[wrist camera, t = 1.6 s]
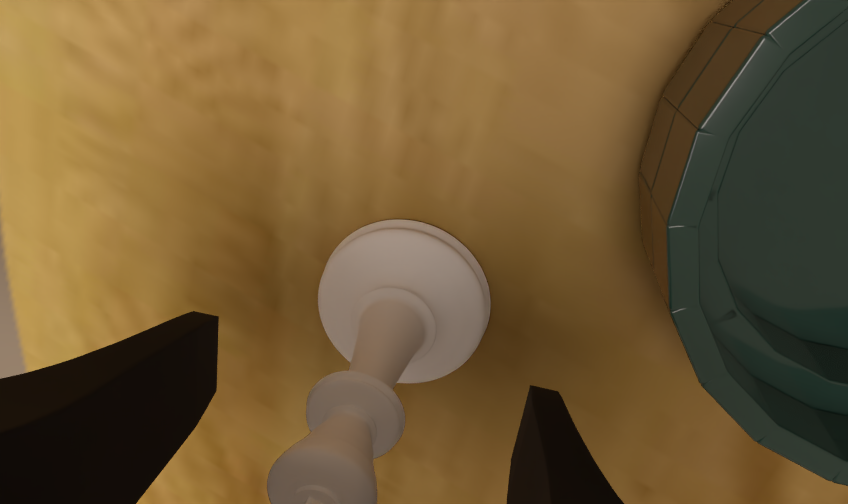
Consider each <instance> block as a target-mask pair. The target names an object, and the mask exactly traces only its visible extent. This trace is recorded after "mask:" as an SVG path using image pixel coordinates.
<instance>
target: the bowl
mask: <svg viewBox="0 0 848 504" xmlns="http://www.w3.org/2000/svg"><path fill="white" fill-rule="evenodd" d="M663 96H664V97H662V98H661V99H660V101H659V105H658V108H657V112H656V115H655V119H654V122H653V125H652V129H651V132H650V136H649V139H648V142H647V146H646V149H645V153H644V156H643V160H642V163H641V166H640V172H639V189H640V210H641V231H642V242H643V244H644V248H645V251H646V253H647V256H648V258H649V261H650V264H651V266H652V269H653V271H654V274H655V277H656V279H657V282H658V284H659V287H660V290H661V292H662V295H663V297H664V300H665V303H666V305H667V308H668V310H669V313H670V315H671V318H672V320H673V322H674V325H675V327H676V329H677V332H678V334H679V336H680V339H681V341H682V343H683V346H684V348H685V350H686V353H687V355H688V357H689V360H690V362H691V364H692V367H693V369H694V371H695V374H696V376H697V378H698V381H699V383H701V386H702V387H703V388H704V389H705V390H706V391H707V392H708V393H709V394H710V395H711V396H712V397H713V398H714V399H715V401H716V402H717V403H718V404H719V405H720V406H721V407H722V408H723V409H724V410H725V411H726V412H727V413H728V414H729V415H730V416H731V417H732V418H733V419H734V420H735V421H736V422H737V424H738V425H739V426H740V427H741V428H742V429H743V430H744V431H745V432H746V433H747V434H748V435H749V436H750V437H751V438H752V439H753V440H754V441H755V442H758V443H759V444H760V445H762V446H764V447H766V448H768V449H770V450H772V451H774V452H775V453H777V454H779V455H781V456H783V457H785V458H787V459H789V460H790V461H792V462H794V463H796V464H798V465H800V466H802V467H804V468H805V469H807V470H809V471H811V472H813V473H815V474H817V475H819V476H820V477H822V478H824V479H826V480H828V481H832V482H834V483H837V484H842V485H846V486H848V0H733V1H732V2H731V3H730V4H729V5H727V6H726V7H725V8H724V9H723V10H722V11H721V12H719V13H718V14H717V15H716V16H715V17H714V18H713V19H712V22H710V23H709V24H708V25H707V27H706V28H705V30H704V31H703V33H702V34H701V36H700V37H699V39H698V40H697V42H696V43H695V45H694V46H693V48H692V49H691V51H690V53H689V54H688V56H687V57H686V59H685V60H684V62H683V63H682V65H681V66H680V68H679V69H678V71H677V72H676V74H675V75H674V77H673V78H672V80H671V81H670V83H669V84H668V86H667V87H666V89H665V90H664V92H663Z"/></svg>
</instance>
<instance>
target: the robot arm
mask: <svg viewBox="0 0 848 504" xmlns="http://www.w3.org/2000/svg"><path fill="white" fill-rule="evenodd" d="M218 321H219V317H218V316H213V315H209V314H204V313H200V312H195V311H193V312H190V313H187V314H184V315H181V316H179V317H176V318H174V319H171V320H169V321H167V322H164V323H162V324H160V325H157V326H155V327H153V328H150V329H148V330H146V331H143V332H141V333H138V334H136V335H134V336H131V337H129V338H127V339H124V340H122V341H119V342H117V343H114V344H112V345H109V346H106V347H104V348H101V349H98V350H96V351H93V352H90V353H88V354H85V355H82V356H80V357H77V358H74V359H71V360H68V361H65V362H62V363H59V364H56V365H53V366H49V367H46V368H42V369H39V370H35V371H32V372H28V373H24V374H20V375H16V376H11V377H7V378H2V379H0V504H136V503H137V502H138V500H139V499H140V498H141V496H142V495H143V494H144V493H145V491H146V490H147V489H148V488H149V486H150V485H151V484H152V482H153V481H154V480H155V479H156V477H157V476H158V475H159V474H160V472H161V471H162V470H163V468H164V467H165V466H166V465H167V463H168V462H169V461H170V459H171V458H172V457H173V456H174V454H175V453H176V452H177V451H178V449H179V448H180V447H181V445H182V444H183V443H184V441H185V440H186V439H187V438H188V436H189V435H190V434H191V432H192V431H193V430H194V428H195V427H196V425H197V424H198V422H199V420H200V419H201V417H202V415H203V414H204V412H205V410H206V409H207V407H208V405H209V403H210V401H211V399H212V398H213V396H214V394H215V392H216V388H217V355H218ZM507 504H624V503H623V502H622V501H621V499H620V498H619V497H618V495H617V494H616V493H615V491H614V490H613V489H612V487H611V486H610V484H609V483H608V481H607V480H606V478H605V477H604V475H603V474H602V472H601V470H600V469H599V467H598V466H597V464H596V462H595V461H594V459H593V457H592V456H591V454H590V452H589V450H588V449H587V447H586V445H585V443H584V442H583V440H582V438H581V436H580V434H579V432H578V430H577V428H576V426H575V424H574V422H573V420H572V418H571V416H570V414H569V412H568V410H567V408H566V406H565V403H564V401H563V399H562V397H561V395H560V394H559V392H558V391H554V390H549V389H545V388H540V387H536V386H531V385H530V389H529V392H528V396H527V400H526V404H525V408H524V412H523V416H522V419H521V423H520V427H519V431H518V435H517V439H516V443H515V446H514V450H513V454H512V458H511V466H510V475H509V484H508V494H507Z"/></svg>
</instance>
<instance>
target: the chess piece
mask: <svg viewBox="0 0 848 504" xmlns="http://www.w3.org/2000/svg"><path fill="white" fill-rule="evenodd" d="M318 307H319V314H320V318H321V321H322V324H323V327H324V329H325V332H326V334H327V335H328V337H329V339H330V341H331V342H332V344H333V345H334V346H335V348H336V349H337V350H338V351H339V352H340V353H341V354H342V356H344V357H345V358H346V359H347V360H348V361H349V362H350V367H349V371H339V372H335V373H332V374H329V375H327V376H325V377H323V378H322V379H321V380H319V381H318V382H317V383H316V384H315V385H314V387H313V388H312V389H311V391H310V393H309V396H308V399H307V409H306V418H307V423H308V426H309V429H310V431H311V433H310V434H309V435H308V436H307V437H305V438H304V439H303V440H301V441H299V442H297V443H295V444H294V445H293V446H292V447H290V448H289V449H288V450H287V451H285V452H284V453H283V454H282V455H281V456H280V457H279V458H278V459H277V460H276V462H275V463H274V465H273V466H272V468H271V470H270V473H269V476H268V481H267V490H268V496H269V499H270V502H271V504H377V482H376V476H375V472H374V466H373V459H374V458H377V457H380V456H382V455H384V454H385V453H387V452H388V451H389V450H390V449H391V448H392V447H393V446H394V445H395V444H396V443H397V442H398V440H399V439H400V437H401V435H402V433H403V431H404V427H405V413H404V409H403V406H402V403H401V401H400V399H399V398H398V396H397V395H396V393H395V392H394V391H393V388H394V386H395V385H396V383H422V382H428V381H432V380H436V379H439V378H441V377H444V376H446V375H448V374H450V373H451V372H453V371H455V370H456V369H458V368H459V367H460V366H462V365H463V364H464V363H465V362H466V361H467V360H468V359H469V358H470V357H471V355H472V354H473V353H474V351H475V350H476V348H477V347H478V345H479V343H480V341H481V338H482V337H483V335H484V333H485V330H486V328H487V325H488V321H489V317H490V309H491V300H490V291H489V287H488V283H487V280H486V277H485V275H484V272H483V270H482V268H481V267H480V265H479V263H478V262H477V260H476V259H475V257H474V256H473V255H472V253H471V252H470V251H469V250H468V249H467V248H466V247H465V246H464V245H463V244H462V243H461V242H459V241H458V240H457V239H456V238H454V237H453V236H451V235H450V234H448V233H447V232H445V231H443V230H441V229H439V228H437V227H434V226H432V225H429V224H426V223H422V222H418V221H413V220H403V219H394V220H385V221H379V222H375V223H372V224H369V225H366V226H364V227H362V228H360V229H358V230H356V231H354V232H353V233H351V234H350V235H349V236H347V237H346V238H345V239H344V240H343V241H342V242H341V243H340V244H339V245H338V246H337V247H336V249H335V250H334V251H333V253H332V254H331V256H330V258H329V260H328V262H327V264H326V266H325V269H324V272H323V275H322V278H321V281H320V285H319V291H318Z"/></svg>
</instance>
